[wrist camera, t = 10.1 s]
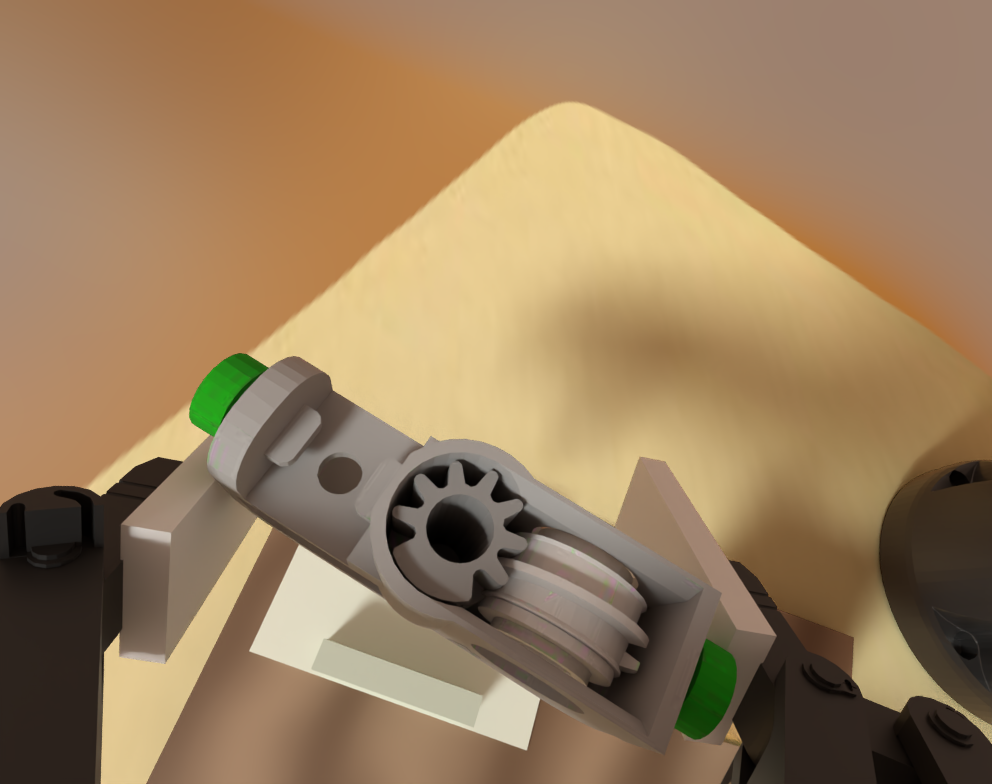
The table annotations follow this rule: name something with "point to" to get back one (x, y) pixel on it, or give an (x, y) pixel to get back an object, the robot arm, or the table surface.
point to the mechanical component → (473, 552)
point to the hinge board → (394, 700)
